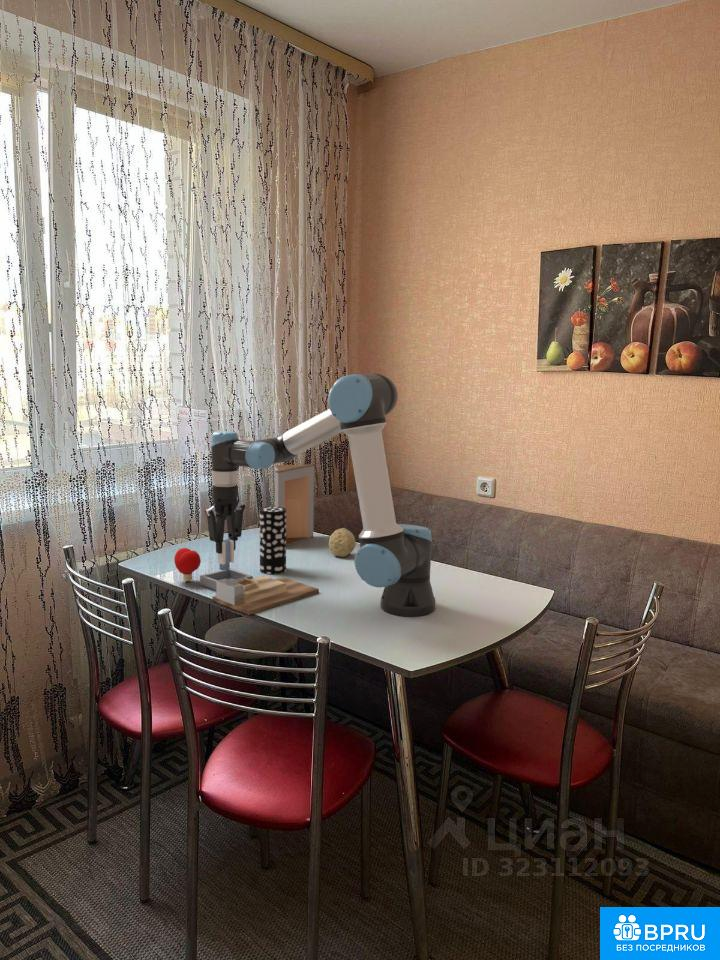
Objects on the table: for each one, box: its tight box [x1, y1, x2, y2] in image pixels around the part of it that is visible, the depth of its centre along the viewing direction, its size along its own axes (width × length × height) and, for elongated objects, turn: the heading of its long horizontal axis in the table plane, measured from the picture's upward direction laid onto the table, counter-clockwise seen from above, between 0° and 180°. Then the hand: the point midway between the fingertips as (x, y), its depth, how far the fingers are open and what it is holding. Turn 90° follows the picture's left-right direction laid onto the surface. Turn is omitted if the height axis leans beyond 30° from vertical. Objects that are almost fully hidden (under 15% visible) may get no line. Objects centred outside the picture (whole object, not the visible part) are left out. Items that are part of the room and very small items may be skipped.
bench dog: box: [216, 579, 243, 605], centre depth 200 cm, size 8×3×5 cm, turn 48°
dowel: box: [218, 537, 231, 571], centre depth 216 cm, size 3×3×9 cm
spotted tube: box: [259, 506, 287, 575], centre depth 231 cm, size 8×8×20 cm
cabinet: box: [274, 463, 315, 547], centre depth 268 cm, size 21×10×28 cm, turn 147°
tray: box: [199, 568, 254, 593], centre depth 217 cm, size 11×11×3 cm
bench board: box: [211, 576, 320, 616], centre depth 208 cm, size 16×26×1 cm, turn 138°
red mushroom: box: [174, 547, 201, 583], centre depth 219 cm, size 9×7×10 cm
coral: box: [328, 527, 357, 558], centre depth 251 cm, size 10×10×10 cm
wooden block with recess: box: [234, 575, 286, 603], centre depth 207 cm, size 10×14×4 cm
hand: (226, 562), depth 216 cm, fingers closed on dowel, 2 cm apart
